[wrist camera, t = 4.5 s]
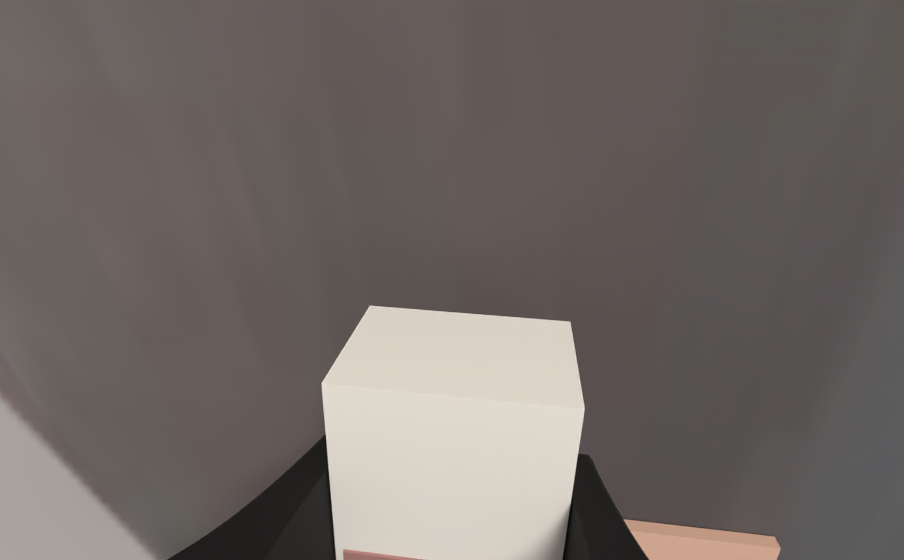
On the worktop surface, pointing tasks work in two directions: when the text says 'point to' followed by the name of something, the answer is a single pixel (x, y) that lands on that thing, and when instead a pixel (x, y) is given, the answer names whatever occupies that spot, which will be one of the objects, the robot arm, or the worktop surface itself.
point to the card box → (452, 437)
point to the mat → (700, 543)
